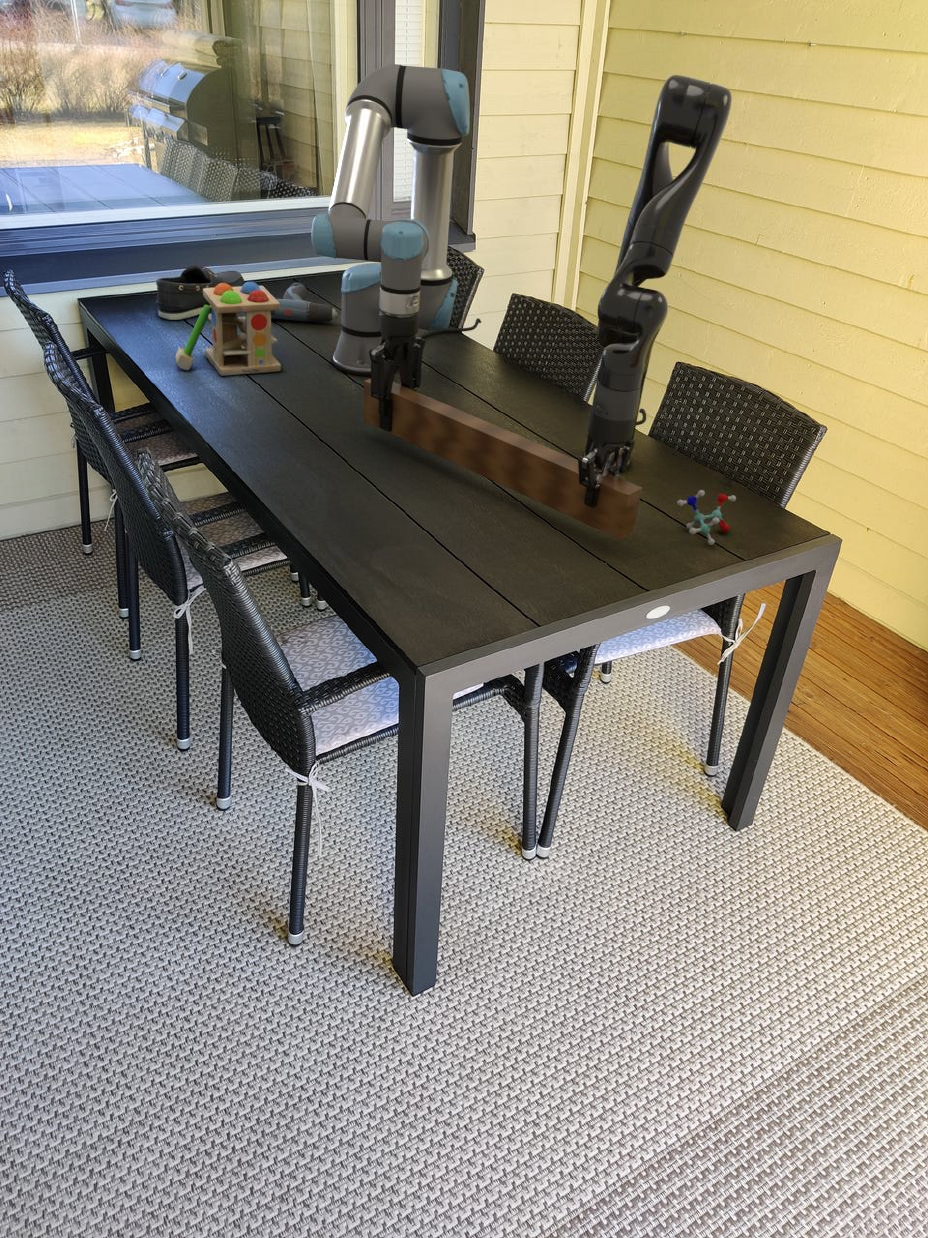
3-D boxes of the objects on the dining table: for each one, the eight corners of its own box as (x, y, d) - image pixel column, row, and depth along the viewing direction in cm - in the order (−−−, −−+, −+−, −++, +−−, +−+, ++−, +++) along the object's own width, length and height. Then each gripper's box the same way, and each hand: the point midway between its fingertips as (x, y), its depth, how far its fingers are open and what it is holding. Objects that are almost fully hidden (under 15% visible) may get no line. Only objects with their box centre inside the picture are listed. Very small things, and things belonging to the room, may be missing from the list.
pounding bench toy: (183, 379, 220) (176, 299, 210) (169, 357, 231) (162, 280, 221) (282, 371, 230) (280, 294, 220) (264, 350, 240) (262, 276, 230)
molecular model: (741, 539, 172) (725, 484, 171) (688, 553, 176) (672, 500, 174) (745, 528, 183) (730, 477, 181) (695, 542, 186) (680, 492, 185)
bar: (363, 420, 201) (364, 380, 196) (378, 415, 204) (379, 375, 199) (619, 539, 169) (628, 495, 164) (633, 531, 171) (642, 487, 166)
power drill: (344, 304, 276) (335, 327, 259) (277, 298, 275) (264, 321, 258) (344, 285, 273) (335, 306, 256) (277, 279, 272) (264, 300, 255)
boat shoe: (264, 299, 275) (261, 260, 270) (175, 322, 251) (171, 280, 246) (230, 290, 281) (227, 253, 275) (140, 312, 257) (136, 271, 251)
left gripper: (380, 325, 178) (376, 444, 191) (444, 308, 189) (436, 420, 202) (352, 314, 181) (350, 431, 195) (416, 297, 193) (410, 409, 206)
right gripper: (608, 428, 155) (591, 522, 165) (657, 406, 164) (638, 496, 174) (570, 412, 159) (556, 506, 169) (620, 391, 168) (603, 481, 178)
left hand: (394, 425), depth 198 cm, fingers closed on bar, 4 cm apart
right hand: (598, 500), depth 171 cm, fingers closed on bar, 4 cm apart
